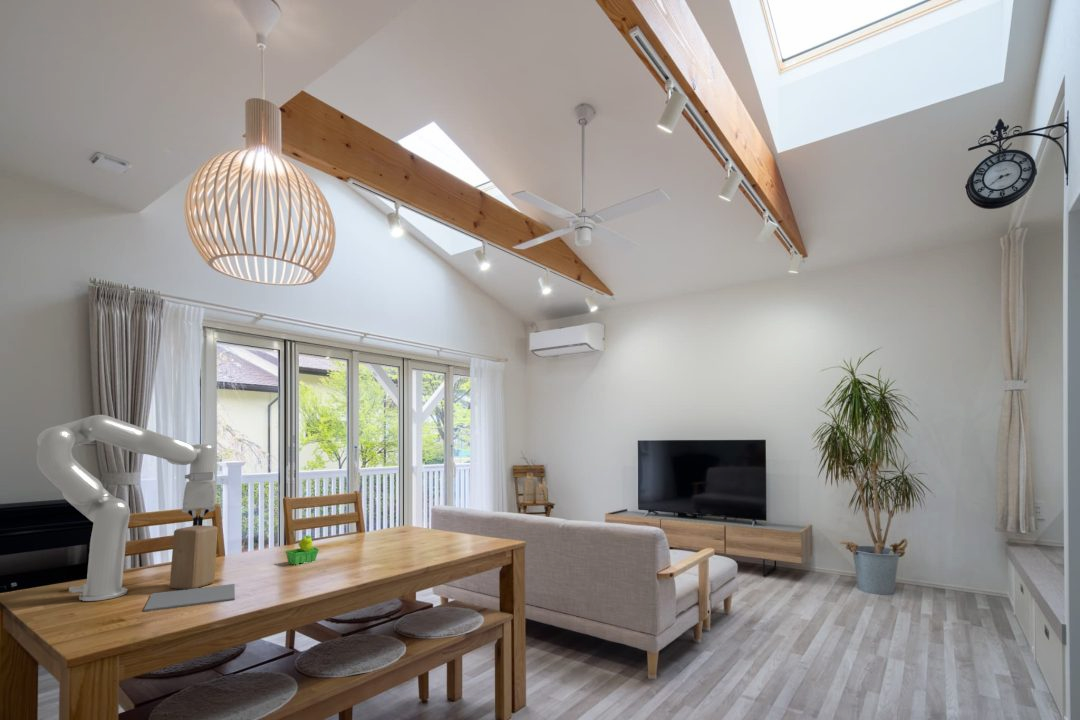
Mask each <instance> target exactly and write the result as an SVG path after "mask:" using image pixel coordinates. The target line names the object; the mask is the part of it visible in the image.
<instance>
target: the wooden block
mask: <svg viewBox="0 0 1080 720" xmlns="http://www.w3.org/2000/svg"><path fill="white" fill-rule="evenodd" d="M218 530H219V528H218V527H217V526H215V525H202V526H199V525H196V526H193V525H192V526H186V527H182V528H176V529H175V530H173V531H174V532H173V540H172V553H171V554H172V555H171V565H170V567H171V568H170V580H169V587H170V589H173V588H174V590H186V589H195V588H199V587H200V588H203V587H206V586H208V584H209V585H212V584H213V583H215V575H216V560H217V547H218V545H217V544H218V534H219V533H218ZM205 585H206V586H205ZM202 586H203V587H202Z"/></svg>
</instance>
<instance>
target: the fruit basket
mask: <svg viewBox="0 0 1080 720" xmlns="http://www.w3.org/2000/svg"><path fill="white" fill-rule="evenodd" d="M313 545H314V543H313V541H312V536H311V535H308V534H307V535H305V536H304V537H302V539H300V541H299V542H298V547H299V548H296V549H290V550H285V554H286V558H287V562H288V564H289V563H291V564H290V565H292V564H294V565H293V566H296V565H295V564H299V563H304V562H310V561H315V562H316V559H317V557H318V553H319V551H320V549H319V548H316V547H313ZM310 563H311V562H310ZM304 564H305V563H304ZM299 565H300V564H299Z"/></svg>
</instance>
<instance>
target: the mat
mask: <svg viewBox="0 0 1080 720" xmlns="http://www.w3.org/2000/svg"><path fill="white" fill-rule="evenodd" d="M235 592H236V591H235V583H232V584H231V583H230V584H224V585H213V586H203V587H200V588H195V589H187V590H186V589H177V590H170V591H162V592H161V591H160V592H154V593H153V592H152V593H151V595H150V597H149V599H148V601H147V603H146V605H145V607H144V608H143V612H144V611H145V612H151V611H150V610H153V611H160V610H159V609H161V610H169V609H176V608H184V607H190V606H199V605H205V604H206V605H207V603H208V604H215V603H222V602H230V601H235V600H236V599H235V594H236V593H235Z"/></svg>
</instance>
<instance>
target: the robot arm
mask: <svg viewBox="0 0 1080 720" xmlns="http://www.w3.org/2000/svg"><path fill="white" fill-rule="evenodd" d="M94 441H99V442H102V443H104V444H107V445H110V446H113V447H117V448H120V449H123V450H126V451H128V452H132V453H136V454H140V455H149V456H153V457H157V458H159V459H163V460H166V461H167V462H168V463H170V464H172V465H175V466H177V465H178V466H187V465H190V467H189V473H188V474H185V475H184V479H185V480H186V479H187V480H188V481H186V483H185V487H184V491H183V499H182V501H183V502H182V509H181V513H184V514H189V515H190V516H191V517H192V526H196V525H199V526H203V520H204V519H203V518H204V517H205V516H206V515H207V514H208V513H210V512H214V511H216V481H215V480H213V479H214V478H213V477H214V467H215V466H214V464H215V445H213V444H210V443H208V444H207V443H203V444H202V443H200V444H193V445H192V444H189V443H187V442H184V441H182V440H178V439H176V438H173V437H170V436H167V435H164V434H161V433H158V432H156V431H152V430H149V429H146V428H143V427H141V426H138V425H135V424H132V423H129V422H126V421H123V420H121V419H118V418H115V417H113V416H109V415H107V414H106V415H105V414H95V415H90V416H87V417H84V418H81V419H77V420H74V421H70V422H67V423H63V424H59V425H56V426H55V425H54V426H51V427H48V428H46V429H44V430H42V432H40V433H39V434H38V436H37V440H36V443H37V446H38V447H37V451H36V463H37V467H38V469H39V470H40V472H41V474H43V475H44V477H45V478H47V479H48V480H49V481H50V482H51V483H52V484H53V485H54V486H55V487H56V488H57V489H58V490H59V491H61V493H62V497H63V498H64V500H65V501H67V502H68V503H69V504H70V505H71V506H72V507H74V508H75V509H76V510H77V511H79V513H81V514H82V515H83V516H85V517H86V518H87V519H88V520H89V521H90V522H92V523H93V525H92V531H91V536H90V540H89V541H90V542H89V553H88V564H87V574H86V577H87V578H86V582H85V583H84V584H81V585H75V586H69V589H68V594H78V593H81V594H79V595H78V599H79V601H81V600H82V602H95V601H104V600H110V599H114V598H119V597H122V596H125V595H126V594H127V593H128V588H126V587H123V578H124V566H125V557H126V556H125V555H126V554H125V553H126V544H127V535H128V528H129V523H130V518H131V510H130V506H129V503H127V501H125V500H123V499H121V498H118V497H115V496H114V495H113V494H111V493H110V492H109V491H108V490H107V489H105V488H104V485H103V484H102V482H101V480H100V479H99V478H97V477H95V476H94V475H93V474H91V473H90V472H89V471H88V470H87V469H86V468H85V467H83V466H82V465H81V464H80V463H79V462H78V461H77V460H76V459H75V458H74V456H73V453H72V449H73V448H75V447H79V446H82V445H85V444H87V443H91V442H94ZM197 510H200V514H199V515H198V513H197Z"/></svg>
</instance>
